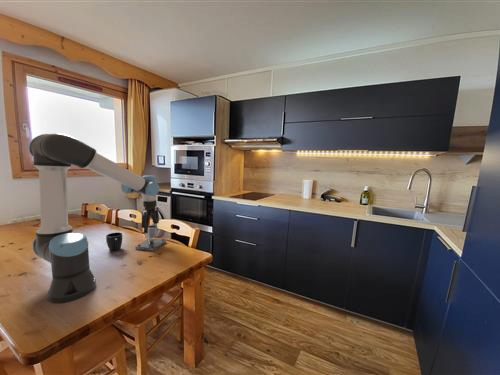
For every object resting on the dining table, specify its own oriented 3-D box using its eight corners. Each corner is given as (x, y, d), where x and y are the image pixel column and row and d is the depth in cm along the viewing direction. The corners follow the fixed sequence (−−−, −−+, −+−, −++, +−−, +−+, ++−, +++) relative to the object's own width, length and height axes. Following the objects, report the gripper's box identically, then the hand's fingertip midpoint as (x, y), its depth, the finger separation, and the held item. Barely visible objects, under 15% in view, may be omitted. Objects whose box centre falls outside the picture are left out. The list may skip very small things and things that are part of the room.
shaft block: (153, 251, 125) (153, 238, 124) (135, 249, 127) (134, 236, 126) (166, 242, 139) (165, 230, 138) (149, 240, 141) (149, 229, 140)
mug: (108, 256, 117) (106, 240, 116) (106, 248, 127) (105, 233, 126) (124, 252, 122) (123, 237, 121) (122, 245, 132) (121, 231, 131)
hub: (152, 238, 128) (152, 229, 127) (142, 237, 129) (141, 228, 128) (159, 234, 135) (159, 225, 134) (149, 233, 136) (149, 224, 135)
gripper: (144, 203, 119) (146, 242, 122) (164, 197, 138) (165, 230, 141) (133, 203, 120) (134, 240, 123) (154, 197, 140) (155, 229, 142)
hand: (151, 235), depth 132 cm, fingers closed on hub, 7 cm apart
